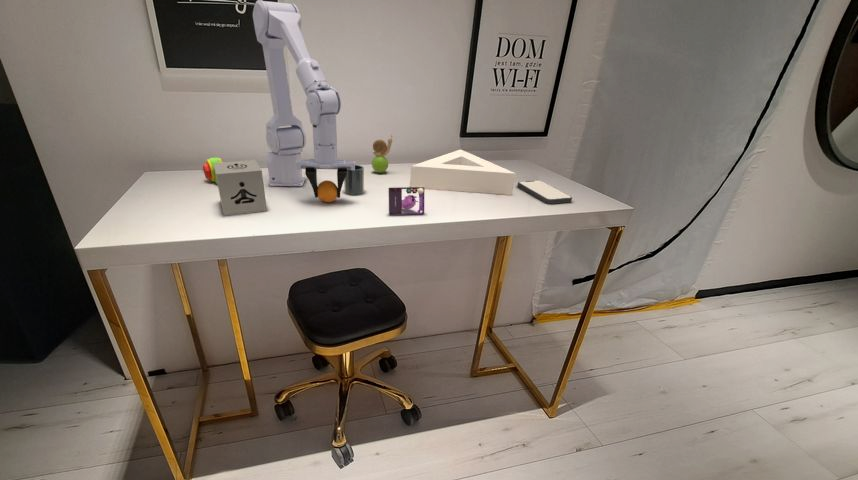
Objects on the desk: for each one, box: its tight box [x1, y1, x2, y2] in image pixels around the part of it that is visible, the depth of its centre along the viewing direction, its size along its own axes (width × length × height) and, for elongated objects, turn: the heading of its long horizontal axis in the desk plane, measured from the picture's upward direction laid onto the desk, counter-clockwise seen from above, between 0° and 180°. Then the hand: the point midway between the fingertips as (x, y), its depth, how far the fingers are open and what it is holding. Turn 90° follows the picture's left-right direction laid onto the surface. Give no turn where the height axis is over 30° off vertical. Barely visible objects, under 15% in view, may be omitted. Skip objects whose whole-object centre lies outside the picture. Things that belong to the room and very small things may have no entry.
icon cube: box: [213, 159, 268, 217], centre depth 96 cm, size 10×10×10 cm
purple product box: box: [388, 186, 425, 216], centre depth 99 cm, size 7×5×9 cm
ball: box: [317, 180, 338, 203], centre depth 103 cm, size 6×6×6 cm
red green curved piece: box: [202, 157, 223, 186], centre depth 116 cm, size 6×20×7 cm, turn 33°
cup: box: [343, 164, 365, 196], centre depth 110 cm, size 5×5×7 cm
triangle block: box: [409, 149, 517, 196], centre depth 120 cm, size 30×26×6 cm
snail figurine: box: [371, 134, 393, 174], centre depth 126 cm, size 5×6×12 cm
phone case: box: [516, 179, 573, 205], centre depth 116 cm, size 9×2×16 cm
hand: (327, 196), depth 103 cm, fingers closed on ball, 5 cm apart
